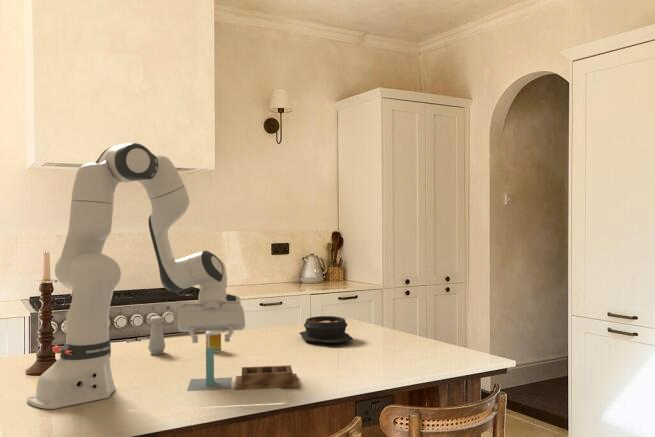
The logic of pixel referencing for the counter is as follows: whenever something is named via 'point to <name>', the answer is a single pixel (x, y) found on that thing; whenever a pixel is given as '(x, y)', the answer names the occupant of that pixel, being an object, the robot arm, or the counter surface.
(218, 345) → the supplement bottle
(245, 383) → the rack
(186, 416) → the counter surface
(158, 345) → the salt shaker
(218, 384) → the mat
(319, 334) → the casserole
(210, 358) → the teal rectangular block
